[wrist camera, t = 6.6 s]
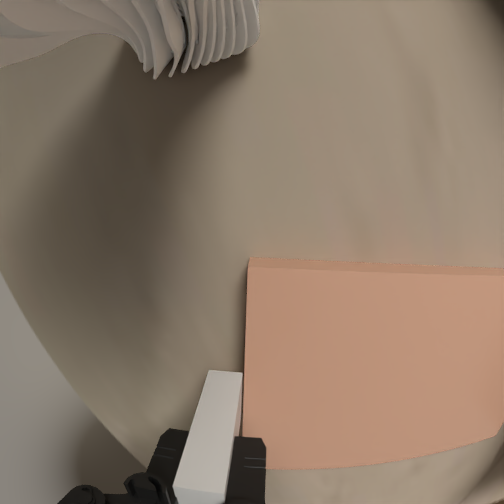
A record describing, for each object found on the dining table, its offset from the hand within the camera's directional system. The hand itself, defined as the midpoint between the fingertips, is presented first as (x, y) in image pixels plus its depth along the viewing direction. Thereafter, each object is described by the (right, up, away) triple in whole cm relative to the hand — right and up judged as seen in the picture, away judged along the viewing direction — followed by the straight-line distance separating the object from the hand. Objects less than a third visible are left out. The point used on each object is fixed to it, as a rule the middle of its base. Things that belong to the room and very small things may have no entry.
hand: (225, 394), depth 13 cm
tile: (+10, 0, +2) cm, 10 cm away
